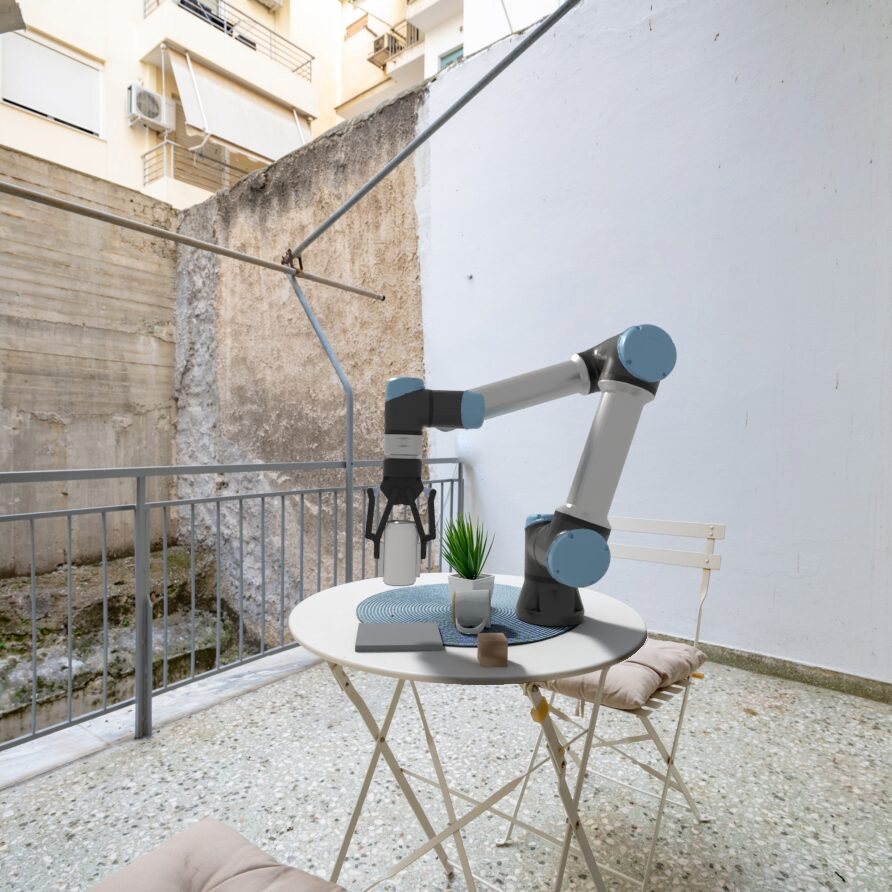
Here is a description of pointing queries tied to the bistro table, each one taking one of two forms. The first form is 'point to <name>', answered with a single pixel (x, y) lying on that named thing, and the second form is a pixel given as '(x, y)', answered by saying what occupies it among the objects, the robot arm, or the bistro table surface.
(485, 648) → the walnut block
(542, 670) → the bistro table surface
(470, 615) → the ceramic mug
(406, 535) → the can
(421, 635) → the mat
